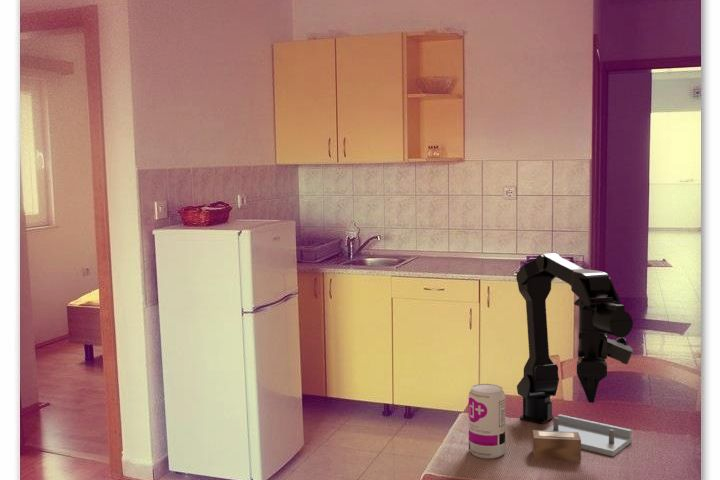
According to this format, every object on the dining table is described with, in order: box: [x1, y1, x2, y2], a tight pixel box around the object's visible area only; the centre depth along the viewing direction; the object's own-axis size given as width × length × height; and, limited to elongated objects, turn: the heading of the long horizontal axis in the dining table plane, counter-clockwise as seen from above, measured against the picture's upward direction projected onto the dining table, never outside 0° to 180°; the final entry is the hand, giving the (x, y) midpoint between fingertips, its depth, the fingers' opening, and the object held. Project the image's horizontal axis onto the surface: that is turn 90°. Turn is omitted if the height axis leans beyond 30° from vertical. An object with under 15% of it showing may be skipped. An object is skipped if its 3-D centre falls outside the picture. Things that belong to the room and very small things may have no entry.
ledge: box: [543, 413, 633, 457], centre depth 167 cm, size 18×11×4 cm, turn 49°
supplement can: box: [468, 383, 506, 460], centre depth 160 cm, size 8×8×15 cm
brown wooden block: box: [532, 429, 582, 463], centre depth 158 cm, size 10×5×5 cm, turn 80°
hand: (591, 396), depth 159 cm, fingers open, 9 cm apart
